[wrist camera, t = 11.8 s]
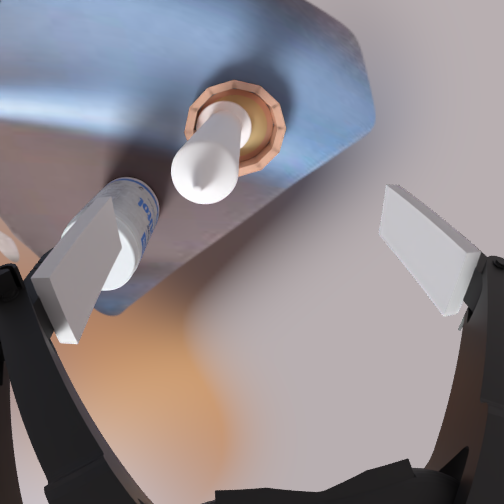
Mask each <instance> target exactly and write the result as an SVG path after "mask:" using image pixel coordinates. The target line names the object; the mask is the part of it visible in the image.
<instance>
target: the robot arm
mask: <svg viewBox="0 0 504 504" xmlns="http://www.w3.org/2000/svg"><path fill="white" fill-rule="evenodd" d="M379 236H380V237H381V238H382V239H383V240H384V242H385V243H386V244H387V245H388V246H389V247H390V249H391V250H392V251H393V252H394V253H395V255H396V256H397V257H398V258H399V259H400V261H401V262H402V263H403V265H404V266H405V267H406V268H407V269H408V271H409V272H410V273H411V275H412V276H413V277H414V278H415V280H417V282H418V284H419V285H420V286H421V287H422V289H423V290H424V291H425V293H426V294H427V295H428V297H429V298H430V299H431V301H432V302H433V303H434V305H435V306H436V307H437V309H438V310H439V311H440V313H441V314H442V316H443V317H445V316H449V315H454V314H458V312H459V310H460V307H461V305H462V303H463V301H464V302H465V303H466V304H467V306H468V308H467V311H466V313H465V315H464V317H463V320H462V322H461V324H460V326H459V328H458V330H461V328H462V327H463V331H462V338H461V344H460V350H459V356H458V361H457V366H456V371H455V375H454V380H453V385H452V389H451V393H450V397H449V401H448V405H447V409H446V412H445V416H444V420H443V423H442V426H441V430H440V433H439V436H438V439H437V442H436V445H435V448H434V451H433V454H432V456H431V458H430V460H429V462H428V463H427V465H426V466H425V468H412V467H411V465H410V462H409V459H405V460H402V461H398V462H395V463H392V464H388V465H385V466H382V467H378V468H375V469H370V470H367V471H365V472H363V473H361V474H359V475H357V476H355V477H353V478H351V479H349V480H347V481H345V482H343V483H340V484H338V485H336V486H334V487H332V488H330V489H327V490H325V491H322V492H305V491H291V490H281V489H271V488H259V489H243V490H221V491H220V490H219V491H218V490H217V491H215V500H213V501H209V502H205V503H202V504H504V259H503V258H501V257H497V256H489V257H486V256H485V255H484V254H483V253H482V252H481V251H480V250H479V249H478V248H476V246H474V245H473V244H472V243H471V242H470V241H469V240H468V239H466V238H465V237H464V236H463V235H462V234H461V233H459V232H458V231H457V230H456V229H455V228H453V227H452V226H451V225H450V224H449V223H447V222H446V221H445V220H444V219H442V218H441V217H440V216H439V215H438V214H436V213H435V212H434V211H433V210H431V209H430V208H429V207H428V206H426V205H425V204H424V203H422V202H421V201H420V200H419V199H417V198H416V197H415V196H413V195H412V194H411V193H409V192H408V191H407V190H405V189H404V188H403V187H401V186H400V185H386V189H385V196H384V203H383V209H382V216H381V222H380V228H379ZM121 249H122V245H121V241H120V237H119V232H118V227H117V223H116V218H115V213H114V208H113V202H112V197H111V196H109V197H100V198H96V199H95V201H94V202H93V203H92V204H91V205H90V206H89V207H88V208H87V209H86V210H85V212H84V213H83V214H82V215H81V216H80V217H79V218H78V220H77V221H76V222H75V223H74V224H73V225H72V227H71V228H70V229H69V230H68V231H67V232H66V234H65V235H64V236H63V237H62V238H61V240H60V241H59V242H58V243H57V245H56V246H55V247H54V248H52V249H51V250H49V251H48V252H47V253H45V254H44V255H43V256H42V257H41V259H40V260H39V261H38V263H37V264H36V265H35V266H34V268H33V269H32V270H31V271H30V273H29V274H28V275H27V277H26V278H25V279H24V281H23V280H22V277H21V275H20V272H19V270H18V267H17V266H16V265H15V264H12V263H10V264H5V265H2V266H0V504H23V502H22V498H21V493H20V488H19V483H18V477H17V471H16V464H15V457H14V448H13V440H12V429H11V414H10V382H11V385H12V388H13V392H14V395H15V399H16V402H17V404H18V408H19V411H20V414H21V417H22V420H23V422H24V425H25V428H26V430H27V433H28V436H29V438H30V441H31V444H32V446H33V448H34V451H35V453H36V455H37V458H38V460H39V462H40V465H41V467H42V469H43V471H44V473H45V475H46V478H47V480H48V485H47V486H45V487H44V491H45V495H46V498H47V500H48V503H49V504H153V503H152V501H151V500H150V499H148V497H147V496H146V495H145V494H144V492H143V491H142V490H141V489H140V487H139V486H138V485H137V484H136V483H135V481H134V480H133V478H132V477H131V476H130V474H129V473H128V472H127V471H126V469H125V468H124V466H123V465H122V464H121V462H120V461H119V459H118V458H117V457H116V455H115V454H114V452H113V451H112V449H111V448H110V446H109V445H108V443H107V442H106V440H105V439H104V437H103V436H102V434H101V433H100V431H99V430H98V428H97V426H96V425H95V423H94V421H93V420H92V418H91V416H90V415H89V413H88V411H87V409H86V408H85V406H84V404H83V403H82V401H81V399H80V397H79V395H78V394H77V392H76V390H75V388H74V386H73V384H72V382H71V380H70V378H69V376H68V375H67V373H66V371H65V369H64V367H63V364H62V362H61V360H60V358H59V356H58V354H57V352H56V350H55V348H54V345H53V343H52V342H51V340H50V337H51V336H52V333H53V332H55V334H56V336H57V338H58V339H59V341H60V343H70V344H78V343H79V340H80V338H81V335H82V333H83V330H84V328H85V326H86V323H87V321H88V319H89V316H90V314H91V312H92V310H93V307H94V305H95V303H96V301H97V298H98V296H99V294H100V292H101V290H102V288H103V286H104V283H105V281H106V279H107V277H108V275H109V273H110V271H111V269H112V267H113V265H114V263H115V261H116V259H117V257H118V255H119V253H120V251H121Z"/></svg>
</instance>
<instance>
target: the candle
mask: <svg viewBox="0 0 504 504" xmlns="http://www.w3.org/2000/svg"><path fill="white" fill-rule="evenodd" d="M251 129H252V125H251V120H250V117H249V115H248V113H247V112H246V110H245V109H244V108H243V107H241V106H240V105H238V104H237V103H234V102H231V101H217V102H214V103H212V104H210V105H208V106H207V107H206V108H205V109H204V110H203V111H202V112H201V113H200V115H199V117H198V119H197V123H196V132H195V133H194V134H193V135H192V137H191V138H190V139H189V140H188V141H187V142H186V143H185V144H184V145H183V146H182V148H181V149H180V150H179V151H178V152H177V154H176V155H175V157H174V159H173V162H172V166H171V176H172V181H173V184H174V186H175V187H176V189H177V190H178V192H179V193H180V194H181V195H182V196H183V197H185V198H186V199H188V200H190V201H192V202H195V203H199V204H211V203H215V202H218V201H220V200H222V199H224V198H225V197H226V196H228V195H229V194H230V193H231V191H232V190H233V189H234V187H235V185H236V183H237V180H238V173H239V157H240V149H241V148H242V147H243V146H244V145H245V144H246V143H247V141H248V139H249V137H250V135H251Z"/></svg>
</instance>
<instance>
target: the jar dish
mask: <svg viewBox="0 0 504 504" xmlns="http://www.w3.org/2000/svg"><path fill="white" fill-rule="evenodd" d="M233 88H236V89H233ZM249 91H250V92H249ZM251 92H254V93H255V94H256V95H255V94H254V93H251ZM213 94H215V95H213ZM212 95H213V96H212ZM211 96H212V97H211ZM217 101H231V102H234V103H237V104H238V105H240V106H241V107H243V108H244V109H245V110H246V112H247V113H248V115H249V117H250V120H251V125H252V129H251V135H250V137H249V139H248V141H247V143H246V144H245V145H244V146H243V147H242V148H241V149H240V157H239V173H238V177H239V176H242V175H246V174H249V173H252V172H256V171H259V170H262V169H263V168H264V167H265V166H266V165H267V164H268V163H269V162H270V161H271V160H272V159H273V158H274V157H275V156H276V155H277V154H278V153H279V152H280V148H281V145H282V141H283V138H284V134H285V131H286V126H285V122H284V118H283V115H282V111H281V107H280V104H279V103H278V102H277V101H276V100H275V99H274V98H273V97H272V96H271V95H270V94H269V93H268V92H267V91H265V90H264V89H263V88H262V87H261V86H259V85H255V84H251V83H246V82H242V81H237V80H232V81H228V82H225V83H221V84H218V85H215V86H212V87H208V88H207V89H206V90H205V91H204V92H203V93H202V94H201V95H200V97H199V98H198V99H197V100H196V101H195V102H194V103H193V104H192V105H191V106H190V107H189V112H188V117H187V122H186V126H185V131H184V133H185V136H186V139H187V141H188V140H189V139H190V138H191V137H192V135H193V134H194V133H195V132H196V128H195V126H196V123H197V119H198V117H199V115H200V113H201V112H202V111H203V110H204V109H205V108H206V107H207V106H208V105H210V104H212V103H214V102H217ZM265 103H266V104H267V105H268V106H269V108H268V106H267V105H266V104H265ZM203 104H204V105H203ZM202 105H203V106H202ZM201 106H202V108H201V109H200V111H199V108H200V107H201ZM198 113H199V114H198ZM273 124H274V125H273ZM268 142H269V143H268Z"/></svg>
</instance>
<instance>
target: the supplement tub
mask: <svg viewBox="0 0 504 504" xmlns="http://www.w3.org/2000/svg"><path fill="white" fill-rule="evenodd" d="M109 196H111V197H112V202H113V208H114V213H115V218H116V223H117V227H118V232H119V237H120V241H121V245H122V249H121V251H120V253H119V255H118V257H117V259H116V261H115V263H114V265H113V267H112V269H111V271H110V273H109V275H108V277H107V279H106V281H105V283H104V286H103V288H102V290H113V289H117V288H119V287H121V286H123V285H124V284H125V283H126V282H127V281H128V280H129V279H130V278H131V276H132V274H133V273H134V272H135V270H136V268H137V267H138V264H139V262H140V260H141V258H142V255H143V253H144V251H145V248H146V246H147V244H148V241H149V239H150V237H151V234H152V232H153V230H154V228H155V226H156V223H157V221H158V217H159V203H158V200H157V197H156V195H155V193H154V192H153V191H152V189H151V188H150V187H149V186H148V185H147V184H146V183H144V182H143V181H141V180H138V179H136V178H131V177H122V178H118V179H115V180H113V181H111V182H110V183H108V184H107V185H106V186H105V187H104V188H103V189H102V190H101V191H100V192H99V193H98V194H97V195H96V196H95V197H94V198H93V199H92V200H91V201H90V202H89V203H88V204H87V205H86V206H85V207H84V208H83V209H82V210H81V211H80V212H79V213H78V214H77V215H76V216H75V217H74V218H73V219H72V220H71V221H70V222H69V224H68V226H67V227H66V229H65V230H64V232H63V234H62V237H63V236H64V235H65V234H66V232H67V231H68V230H69V229H70V228H71V227H72V225H73V224H74V223H75V222H76V221H77V220H78V218H79V217H80V216H81V215H82V214H83V213H84V212H85V210H86V209H87V208H88V207H89V206H90V205H91V204H92V203H93V202H94V201H95V199H96V198H100V197H109ZM62 237H61V238H62Z"/></svg>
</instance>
